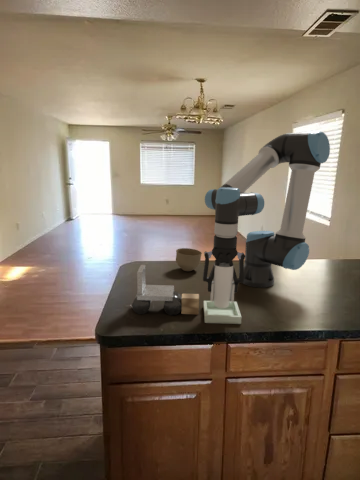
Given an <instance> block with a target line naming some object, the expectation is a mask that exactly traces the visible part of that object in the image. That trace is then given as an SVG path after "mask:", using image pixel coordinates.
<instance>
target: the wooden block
mask: <svg viewBox="0 0 360 480" xmlns="http://www.w3.org/2000/svg"><path fill="white" fill-rule="evenodd" d="M181 297H182V305H181V311H180V312H181V314H182V315H199V311H200V310H199V307H200V293H182V294H181Z"/></svg>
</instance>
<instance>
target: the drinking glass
mask: <svg viewBox="0 0 360 480" xmlns="http://www.w3.org/2000/svg"><path fill="white" fill-rule="evenodd" d="M213 265H214V266H215V271H214V278H213V282H214V293H213V301H214V305H215V306H216V307H218V308H227V307H228V306H229V304H230V301H231V299H230V298H231V288H232V282H234V279H233V267H234V268H235V265H234V266H231V267H230V265H229V263H220V264H219V266H216V265H215V262H214V263H213Z"/></svg>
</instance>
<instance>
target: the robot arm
mask: <svg viewBox="0 0 360 480" xmlns="http://www.w3.org/2000/svg"><path fill="white" fill-rule="evenodd" d="M330 144H331V143H330V140H329V137H328V136H327V134H326V133H325V132H323V131H316V130H315V131H314V130H310V131H301V132H286V133H283V134H281V135H278V136H277V137H275V138H273V139H271V140H270V141H269V142H267V143H266V144H264V145H263V146H262V147H261V148H260V149H259V151H258V152H257V155H255V156H254V158H252V159H251V160H250V161H248V163H247V164H245V165H244V166H242V168H241V169H240V170H239V171H237V172H236V173H235V174H234V175H233V176H232V177H231V178H229V179H228V180H227V181H226V182H225V183H224V184H222V185H221V186H220V187H219V188H218V189H216V188H214V189H213V188H212V189H209V190H208V191H207V192H206V193H205V195H204V204H205V205H206V207H207V208H209V209H210V210H213V211H214V214H215V215H214V216H215V217H214V229H213V230H214V232H213V234H214V236H213V247H212V250H210V251H204V252H203V254H204V255H203V256H204V265H203V273H202V281H203V282H206V283H207V291H208V292H210V301H211V302H213V301H214V282H213V278H214V271H215V266H214V264H213V265H212V268H211V271H210V273H208V272H209V265H210V259H211V258H212V256H213V258H214V259H215V260H214V263H215V265H216V266H219V264H220V263H229V265H230V267H231V266H234V267H233V282H232V288H231V295H230V301H231V303H234V302H235V294H237V293H238V291H239V290H238V288H239V287H238V286H239V284H240V283H241V284H243V285H246V286H248V287H253V288H270V287H272V286H273V285H274V284H275V276H274V272H273V269H272V265H275V266H277V267H282V268H283V269H285V270H287V269H288V270H292V271H297V270H299V269H300V268H302V266H304V265H305V263H306V261H307V260H308V257H309V255H310V246H309V243H307V242H306V238H307V237H306V236H305V235H304V233H303V231H304V227H305V222H306V218H307V212H308V207H309V203H310V199H311V193H312V188H313V182H314V178H315V173H317V172H318V171H319V170H320V168H321V165H322V164H324V163H326V162H327V161H328V160H329V157H330V153H331V145H330ZM284 163H288V167H289V168H290V170H291V172H290V178H289V182H288V189H287V193H286V197H285V203H284V209H283V214H282V219H281V224H280V229H279V230H278V231H276V232H274V231H272V230H257V231H250V232H248V233H247V234H246V240H245V253H244V252H239V251H238V250H237V245H238V237H237V235H238V228H239V227H238V225H239V217H242V216H254V215H257V214H260V213H261V212H262V211H263V210H264V208H265V199H264V196H263V195H262V194H261V193H259V192H252V191H251V192H247V191H248V189H250V188H251V187H252V186H253V184H255V183H256V182H258V180H259V179H261V178H262V176H263V175H265V174H266V173H267V172H268V171H269V170H270V169H273V168H276V167H277V166H279V164H284ZM236 257H237V258H238V276H237V274H236V269H235V265H234V262H233V261H234V260H235V258H236ZM208 274H209V275H208Z"/></svg>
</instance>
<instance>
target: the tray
mask: <svg viewBox="0 0 360 480" xmlns="http://www.w3.org/2000/svg"><path fill="white" fill-rule="evenodd" d="M202 307H203V316H204V319H203V320H204V323H206V324H228V325H229V324H231V325H232V324H233V325H242V319H243V317H242V314H241V311H240V308H239V305H238V301H234V303H231V300H230V304H229V306H228V307H227V308H218V307H216V306H215V305H214V300H213V302H211V300H203V306H202Z"/></svg>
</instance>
